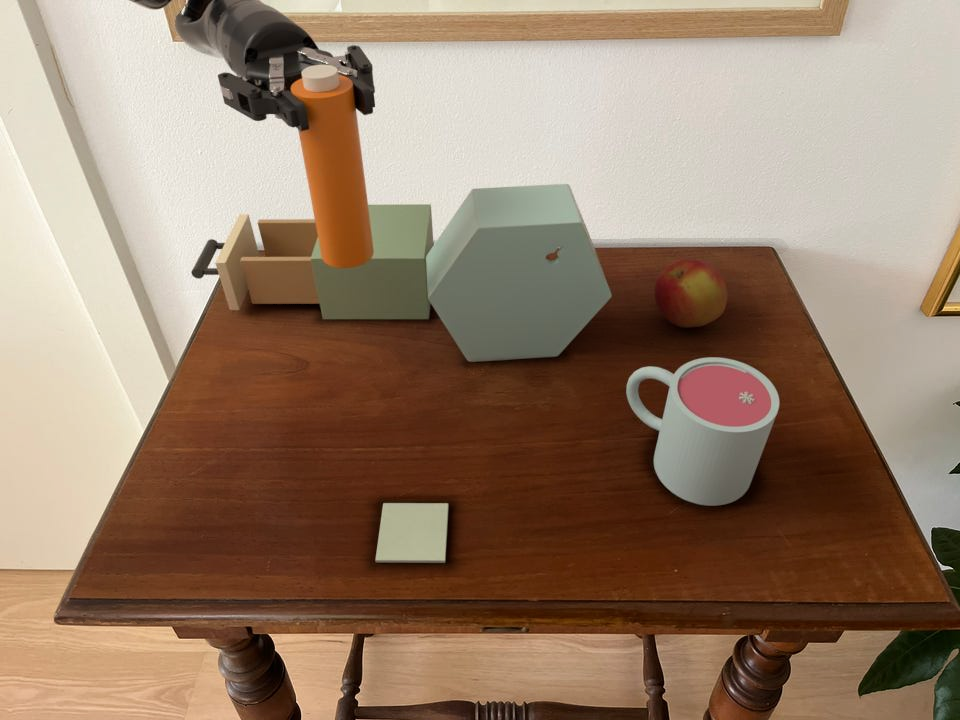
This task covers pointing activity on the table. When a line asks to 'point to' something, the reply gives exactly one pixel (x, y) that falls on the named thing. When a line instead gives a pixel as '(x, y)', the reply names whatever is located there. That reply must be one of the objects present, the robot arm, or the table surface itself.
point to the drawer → (264, 262)
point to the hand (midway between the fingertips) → (336, 111)
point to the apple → (690, 293)
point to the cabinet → (382, 269)
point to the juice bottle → (335, 166)
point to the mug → (709, 427)
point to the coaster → (413, 533)
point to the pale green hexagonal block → (515, 273)
